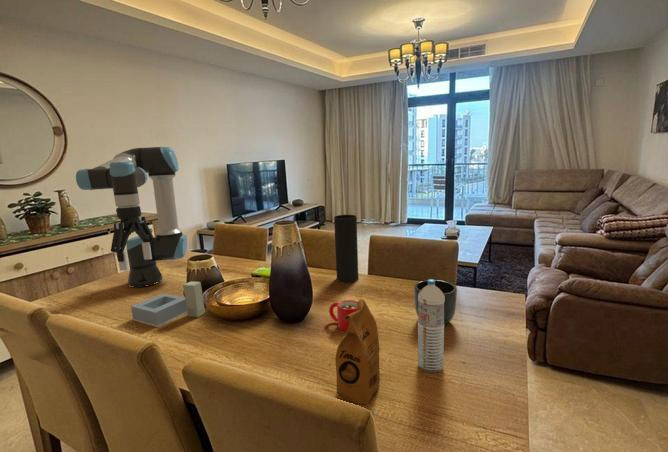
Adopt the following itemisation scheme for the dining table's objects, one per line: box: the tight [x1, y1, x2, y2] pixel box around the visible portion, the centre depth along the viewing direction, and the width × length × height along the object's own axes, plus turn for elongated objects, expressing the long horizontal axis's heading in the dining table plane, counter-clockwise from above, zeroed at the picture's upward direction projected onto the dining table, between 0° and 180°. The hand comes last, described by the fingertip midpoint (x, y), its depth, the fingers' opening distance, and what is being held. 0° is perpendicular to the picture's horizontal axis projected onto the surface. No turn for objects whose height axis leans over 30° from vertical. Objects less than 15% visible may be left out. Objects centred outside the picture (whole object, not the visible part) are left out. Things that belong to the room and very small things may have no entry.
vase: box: [333, 214, 359, 284], centre depth 170 cm, size 10×10×30 cm
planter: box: [413, 279, 458, 327], centre depth 126 cm, size 14×14×13 cm
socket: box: [130, 293, 187, 328], centre depth 141 cm, size 14×14×6 cm
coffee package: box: [334, 298, 381, 405], centre depth 91 cm, size 10×12×22 cm
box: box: [182, 280, 206, 318], centre depth 140 cm, size 5×4×13 cm
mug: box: [328, 299, 358, 332], centre depth 127 cm, size 8×12×8 cm, turn 59°
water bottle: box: [417, 278, 445, 374], centre depth 99 cm, size 7×7×25 cm
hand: (136, 264), depth 133 cm, fingers open, 13 cm apart
